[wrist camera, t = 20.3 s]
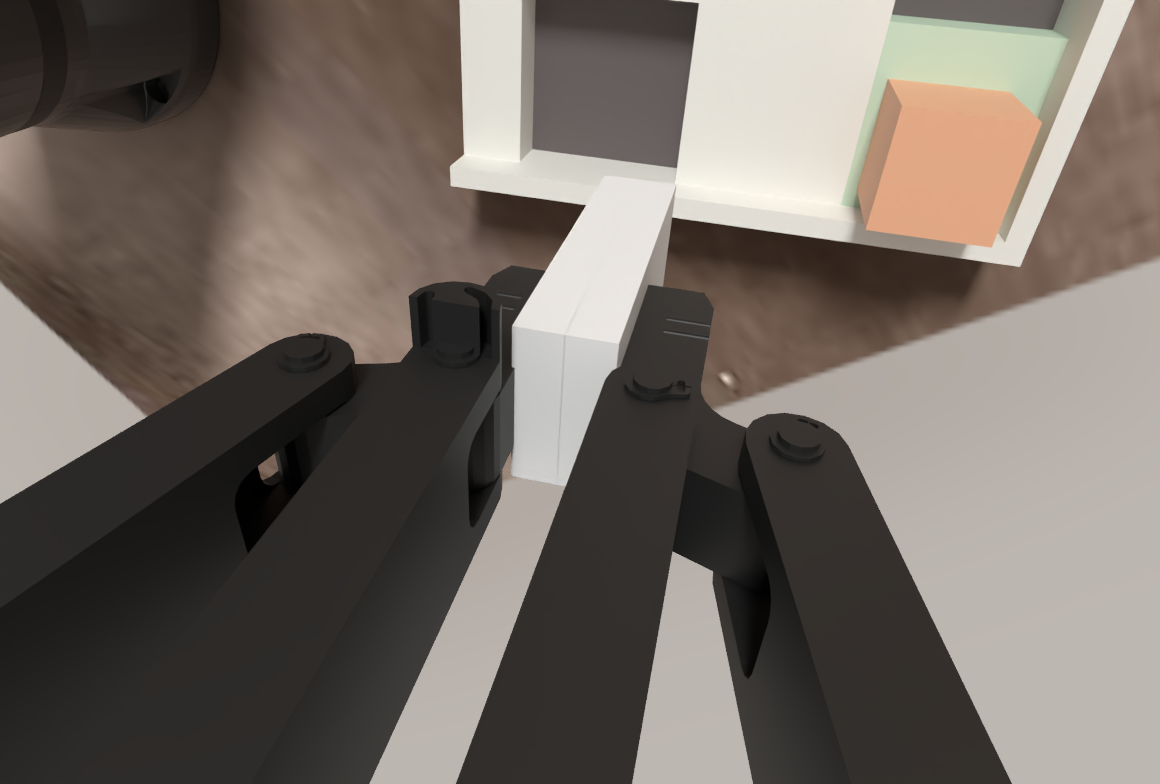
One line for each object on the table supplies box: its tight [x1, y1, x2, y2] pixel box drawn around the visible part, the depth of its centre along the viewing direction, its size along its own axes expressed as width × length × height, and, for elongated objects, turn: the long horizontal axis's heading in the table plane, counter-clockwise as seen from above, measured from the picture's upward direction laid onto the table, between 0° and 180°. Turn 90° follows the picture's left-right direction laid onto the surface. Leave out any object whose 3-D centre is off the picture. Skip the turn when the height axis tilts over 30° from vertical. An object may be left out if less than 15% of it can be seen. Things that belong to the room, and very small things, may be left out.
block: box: [857, 78, 1042, 248], centre depth 32 cm, size 5×5×5 cm
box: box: [450, 0, 1135, 267], centre depth 32 cm, size 27×18×4 cm, turn 87°
